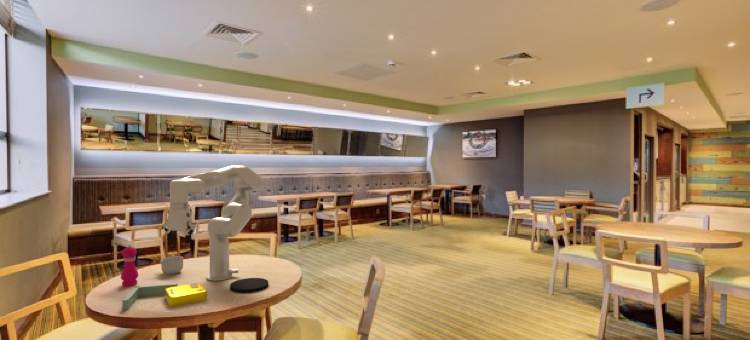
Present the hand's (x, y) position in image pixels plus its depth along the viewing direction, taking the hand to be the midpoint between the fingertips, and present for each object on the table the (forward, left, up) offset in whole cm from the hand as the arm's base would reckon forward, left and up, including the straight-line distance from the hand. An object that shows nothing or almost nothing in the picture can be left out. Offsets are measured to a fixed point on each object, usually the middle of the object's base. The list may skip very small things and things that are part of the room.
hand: (179, 242), depth 177 cm
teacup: (+10, -34, -23) cm, 43 cm away
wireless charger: (-31, +3, -24) cm, 39 cm away
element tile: (-4, +11, -24) cm, 26 cm away
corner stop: (+9, +9, -23) cm, 26 cm away
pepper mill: (+25, -17, -23) cm, 38 cm away
